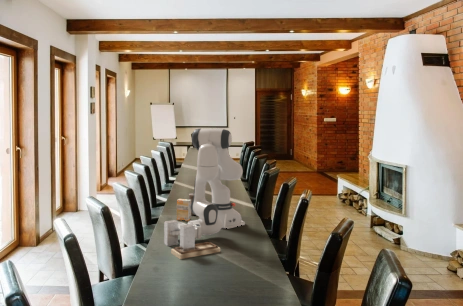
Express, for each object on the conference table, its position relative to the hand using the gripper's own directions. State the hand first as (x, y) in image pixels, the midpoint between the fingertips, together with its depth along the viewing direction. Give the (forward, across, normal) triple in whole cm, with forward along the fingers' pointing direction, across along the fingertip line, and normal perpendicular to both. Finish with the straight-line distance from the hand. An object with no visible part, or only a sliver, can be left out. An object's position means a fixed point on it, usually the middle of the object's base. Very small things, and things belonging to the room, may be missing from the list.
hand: (169, 232), depth 227 cm
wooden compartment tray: (-6, +18, +7) cm, 20 cm away
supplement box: (-29, -42, +7) cm, 51 cm away
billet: (-1, +18, +5) cm, 19 cm away
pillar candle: (-43, -52, +7) cm, 68 cm away
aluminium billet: (-1, 0, +7) cm, 7 cm away
